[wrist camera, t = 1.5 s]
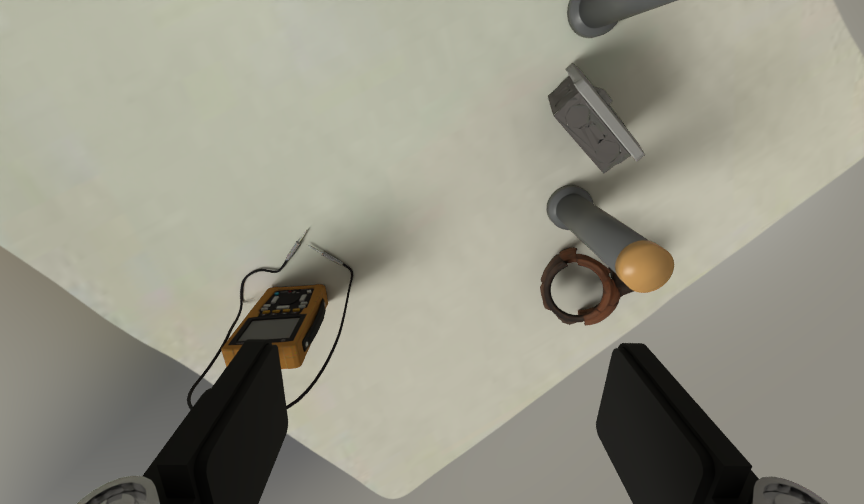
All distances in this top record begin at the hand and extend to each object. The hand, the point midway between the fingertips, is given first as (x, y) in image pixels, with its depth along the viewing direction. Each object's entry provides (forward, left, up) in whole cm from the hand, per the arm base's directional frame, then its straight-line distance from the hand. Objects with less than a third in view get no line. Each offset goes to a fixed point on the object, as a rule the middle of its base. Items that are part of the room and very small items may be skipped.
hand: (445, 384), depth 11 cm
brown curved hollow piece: (+14, +19, -37) cm, 44 cm away
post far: (+5, +16, -36) cm, 40 cm away
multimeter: (+13, -17, -36) cm, 42 cm away
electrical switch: (-5, +16, -36) cm, 40 cm away
